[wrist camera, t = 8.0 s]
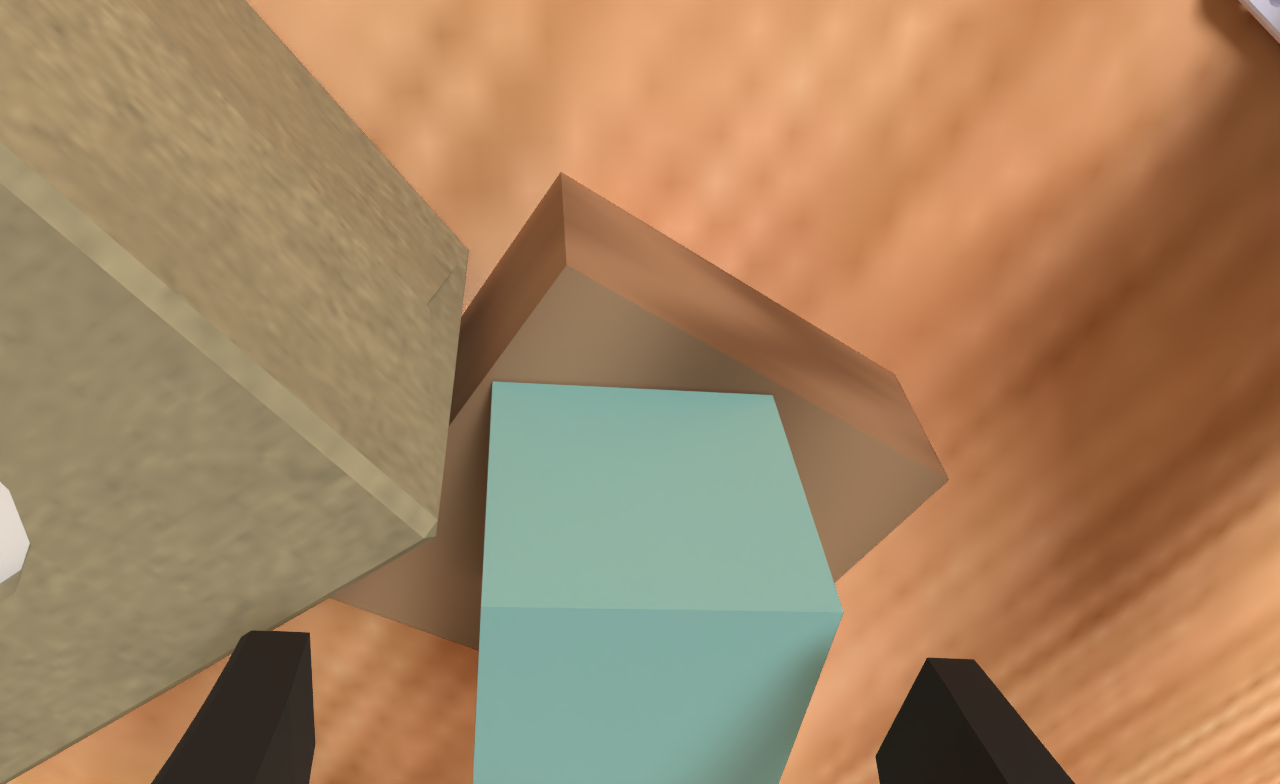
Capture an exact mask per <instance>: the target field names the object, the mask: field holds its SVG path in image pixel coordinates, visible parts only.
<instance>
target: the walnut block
mask: <svg viewBox="0 0 1280 784" xmlns="http://www.w3.org/2000/svg"><path fill="white" fill-rule="evenodd" d="M493 382H514V383H534V384H554V385H575V386H595V387H615V388H636V389H656V390H677V391H697V392H717V393H738V394H758V395H773V398H774V401H775V404H776V407H777V410H778V413H779V416H780V419H781V422H782V425H783V428H784V431H785V434H786V437H787V440H788V444H789V447H790V450H791V453H792V456H793V459H794V462H795V465H796V468H797V471H798V474H799V477H800V480H801V483H802V486H803V489H804V492H805V495H806V499H807V502H808V505H809V508H810V511H811V514H812V517H813V520H814V523H815V526H816V529H817V532H818V535H819V538H820V541H821V544H822V547H823V550H824V554H825V557H826V560H827V563H828V566H829V569H830V572H831V575H832V578H833V581H834V583H835V582H836V581H837V580H838V579H839V578H840V577H841V576H843V575H844V574H845V573H846V572H847V571H848V570H849V569H850V568H851V567H853V566H854V565H855V564H856V563H857V562H858V561H859V560H860V559H862V558H863V557H864V556H865V555H866V554H867V553H868V552H869V551H870V550H872V549H873V548H874V547H875V546H876V545H877V544H878V543H879V542H880V541H882V540H883V539H884V538H885V537H886V536H887V535H888V534H889V533H890V532H892V531H893V530H894V529H895V528H896V527H897V526H898V525H899V524H901V523H902V522H903V521H904V520H905V519H906V518H907V517H908V516H909V515H911V514H912V513H913V512H914V511H915V510H916V509H917V508H918V507H919V506H921V505H922V504H923V503H924V502H925V501H926V500H927V499H928V498H930V497H931V496H932V495H933V494H934V493H935V492H936V491H937V490H938V489H940V488H941V487H942V486H943V485H944V484H945V483H946V482H947V481H948V480H949V478H948V477H947V475H946V473H945V471H944V469H943V467H942V465H941V463H940V461H939V459H938V457H937V455H936V453H935V451H934V449H933V447H932V445H931V444H930V442H929V440H928V438H927V436H926V434H925V432H924V430H923V428H922V426H921V424H920V422H919V420H918V418H917V416H916V414H915V412H914V411H913V409H912V407H911V405H910V403H909V401H908V399H907V397H906V395H905V393H904V391H903V389H902V387H901V385H900V383H899V381H898V379H897V378H896V376H895V374H893V373H891V372H890V371H888V370H886V369H885V368H883V367H882V366H880V365H878V364H877V363H875V362H873V361H872V360H870V359H868V358H867V357H865V356H863V355H862V354H860V353H858V352H857V351H855V350H853V349H852V348H850V347H849V346H847V345H845V344H844V343H842V342H840V341H839V340H837V339H835V338H834V337H832V336H830V335H829V334H827V333H825V332H824V331H822V330H821V329H819V328H817V327H816V326H814V325H812V324H811V323H809V322H807V321H806V320H804V319H802V318H801V317H799V316H797V315H796V314H794V313H793V312H791V311H789V310H788V309H786V308H784V307H783V306H781V305H779V304H778V303H776V302H774V301H773V300H771V299H769V298H768V297H766V296H765V295H763V294H761V293H760V292H758V291H756V290H755V289H753V288H751V287H750V286H748V285H746V284H745V283H743V282H741V281H740V280H738V279H737V278H735V277H733V276H732V275H730V274H728V273H727V272H725V271H723V270H722V269H720V268H718V267H717V266H715V265H713V264H712V263H710V262H709V261H707V260H705V259H704V258H702V257H700V256H699V255H697V254H695V253H694V252H692V251H690V250H689V249H687V248H685V247H684V246H682V245H681V244H679V243H677V242H676V241H674V240H672V239H671V238H669V237H667V236H666V235H664V234H662V233H661V232H659V231H657V230H656V229H654V228H653V227H651V226H649V225H648V224H646V223H644V222H643V221H641V220H639V219H638V218H636V217H634V216H633V215H631V214H629V213H628V212H626V211H625V210H623V209H621V208H620V207H618V206H616V205H615V204H613V203H611V202H610V201H608V200H606V199H605V198H603V197H601V196H600V195H598V194H597V193H595V192H593V191H592V190H590V189H588V188H587V187H585V186H583V185H582V184H580V183H578V182H577V181H575V180H573V179H572V178H570V177H569V176H567V175H565V174H564V173H562V172H561V173H560V174H559V176H558V177H557V179H556V180H555V181H554V183H553V184H552V186H551V187H550V189H549V190H548V192H547V193H546V195H545V196H544V197H543V199H542V200H541V202H540V203H539V205H538V206H537V208H536V209H535V211H534V212H533V213H532V215H531V216H530V218H529V219H528V221H527V222H526V224H525V225H524V227H523V228H522V229H521V231H520V232H519V234H518V235H517V237H516V238H515V240H514V241H513V242H512V244H511V245H510V247H509V248H508V250H507V251H506V253H505V254H504V256H503V257H502V258H501V260H500V261H499V263H498V264H497V266H496V267H495V269H494V270H493V272H492V273H491V274H490V276H489V277H488V279H487V280H486V282H485V283H484V285H483V286H482V288H481V289H480V290H479V292H478V293H477V295H476V296H475V298H474V299H473V301H472V302H471V304H470V305H469V306H468V308H467V309H466V311H465V312H464V314H463V315H462V317H461V323H460V331H459V340H458V349H457V358H456V366H455V375H454V384H453V393H452V401H451V410H450V419H449V427H448V436H447V445H446V454H445V462H444V471H443V480H442V488H441V497H440V506H439V515H438V523H437V532H436V536H435V537H434V538H432V539H430V540H428V541H427V542H425V543H423V544H421V545H420V546H418V547H416V548H414V549H413V550H411V551H409V552H407V553H406V554H404V555H402V556H400V557H399V558H397V559H395V560H394V561H392V562H390V563H388V564H387V565H385V566H383V567H381V568H380V569H378V570H376V571H374V572H373V573H371V574H369V575H367V576H366V577H364V578H362V579H361V580H359V581H357V582H355V583H354V584H352V585H350V586H348V587H347V588H345V589H343V590H341V591H340V592H338V593H336V594H334V595H333V596H331V597H329V598H332V599H335V600H337V601H340V602H343V603H346V604H349V605H351V606H354V607H357V608H360V609H363V610H366V611H368V612H371V613H374V614H377V615H380V616H382V617H385V618H388V619H391V620H394V621H397V622H399V623H402V624H405V625H408V626H411V627H413V628H416V629H419V630H422V631H425V632H427V633H430V634H433V635H436V636H439V637H442V638H444V639H447V640H450V641H453V642H456V643H458V644H461V645H464V646H467V647H470V648H473V649H475V650H478V651H479V640H480V618H481V598H482V578H483V559H484V539H485V520H486V500H487V481H488V461H489V442H490V422H491V403H492V383H493Z"/></svg>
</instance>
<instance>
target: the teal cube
mask: <svg viewBox="0 0 1280 784" xmlns="http://www.w3.org/2000/svg"><path fill="white" fill-rule="evenodd" d="M843 613H844V612H843V609H842V605H841V602H840V599H839V596H838V593H837V590H836V587H835V584H834V581H833V578H832V575H831V572H830V569H829V566H828V563H827V560H826V557H825V554H824V550H823V547H822V544H821V541H820V538H819V535H818V532H817V529H816V526H815V523H814V520H813V517H812V514H811V511H810V508H809V505H808V502H807V499H806V495H805V492H804V489H803V486H802V483H801V480H800V477H799V474H798V471H797V468H796V465H795V462H794V459H793V456H792V453H791V450H790V447H789V444H788V440H787V437H786V434H785V431H784V428H783V425H782V422H781V419H780V416H779V413H778V410H777V407H776V404H775V401H774V398H773V395H758V394H738V393H717V392H697V391H677V390H656V389H636V388H615V387H595V386H575V385H554V384H534V383H514V382H493V383H492V403H491V422H490V442H489V461H488V481H487V500H486V520H485V539H484V559H483V578H482V598H481V618H480V640H479V662H478V683H477V705H476V727H475V748H474V770H473V784H779V781H780V779H781V776H782V773H783V771H784V768H785V765H786V763H787V760H788V758H789V755H790V752H791V750H792V747H793V744H794V742H795V739H796V737H797V734H798V731H799V729H800V726H801V723H802V721H803V718H804V715H805V713H806V710H807V708H808V705H809V702H810V700H811V697H812V694H813V692H814V689H815V686H816V684H817V681H818V679H819V676H820V673H821V671H822V668H823V665H824V663H825V660H826V658H827V655H828V652H829V650H830V647H831V644H832V642H833V639H834V636H835V634H836V631H837V629H838V626H839V623H840V621H841V618H842V615H843Z"/></svg>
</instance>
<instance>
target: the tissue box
mask: <svg viewBox="0 0 1280 784" xmlns="http://www.w3.org/2000/svg"><path fill="white" fill-rule="evenodd" d="M468 253H469V250H468V249H467V248H466V247H465V246H464V244H463V243H462V242H461V241H460V240H459V239H458V238H457V237H456V236H455V234H454V233H453V232H452V231H451V230H450V229H449V228H448V227H447V225H446V224H445V223H444V222H443V221H442V220H441V219H440V218H439V216H438V215H437V214H436V213H435V212H434V211H433V210H432V209H431V208H430V206H429V205H428V204H427V203H426V202H425V201H424V200H423V199H422V197H421V196H420V195H419V194H418V193H417V192H416V191H415V190H414V189H413V187H412V186H411V185H410V184H409V183H408V182H407V181H406V180H405V178H404V177H403V176H402V175H401V174H400V173H399V172H398V171H397V170H396V168H395V167H394V166H393V165H392V164H391V163H390V162H389V161H388V159H387V158H386V157H385V156H384V155H383V154H382V153H381V152H380V150H379V149H378V148H377V147H376V146H375V145H374V144H373V143H372V142H371V140H370V139H369V138H368V137H367V136H366V135H365V134H364V133H363V131H362V130H361V129H360V128H359V127H358V126H357V125H356V124H355V123H354V121H353V120H352V119H351V118H350V117H349V116H348V115H347V114H346V112H345V111H344V110H343V109H342V108H341V107H340V106H339V105H338V104H337V102H336V101H335V100H334V99H333V98H332V97H331V96H330V95H329V93H328V92H327V91H326V90H325V89H324V88H323V87H322V86H321V84H320V83H319V82H318V81H317V80H316V79H315V78H314V77H313V76H312V74H311V73H310V72H309V71H308V70H307V69H306V68H305V67H304V65H303V64H302V63H301V62H300V61H299V60H298V59H297V58H296V57H295V55H294V54H293V53H292V52H291V51H290V50H289V49H288V48H287V46H286V45H285V44H284V43H283V42H282V41H281V40H280V39H279V38H278V36H277V35H276V34H275V33H274V32H273V31H272V30H271V29H270V27H269V26H268V25H267V24H266V23H265V22H264V21H263V20H262V18H261V17H260V16H259V15H258V14H257V13H256V12H255V11H254V10H253V8H252V7H251V6H250V5H249V4H248V3H247V2H246V1H245V0H0V784H6V783H8V782H9V781H11V780H13V779H15V778H16V777H18V776H20V775H22V774H23V773H25V772H27V771H28V770H30V769H32V768H34V767H35V766H37V765H39V764H41V763H42V762H44V761H46V760H48V759H49V758H51V757H53V756H55V755H56V754H58V753H60V752H61V751H63V750H65V749H67V748H68V747H70V746H72V745H74V744H75V743H77V742H79V741H81V740H82V739H84V738H86V737H88V736H89V735H91V734H93V733H95V732H96V731H98V730H100V729H101V728H103V727H105V726H107V725H108V724H110V723H112V722H114V721H115V720H117V719H119V718H121V717H122V716H124V715H126V714H128V713H129V712H131V711H133V710H135V709H136V708H138V707H140V706H141V705H143V704H145V703H147V702H148V701H150V700H152V699H154V698H155V697H157V696H159V695H161V694H162V693H164V692H166V691H168V690H169V689H171V688H173V687H174V686H176V685H178V684H180V683H181V682H183V681H185V680H187V679H188V678H190V677H192V676H194V675H195V674H197V673H199V672H201V671H202V670H204V669H206V668H208V667H209V666H211V665H213V664H214V663H216V662H218V661H220V660H221V659H223V658H225V657H227V656H228V655H230V654H232V653H233V651H234V649H235V647H236V646H237V644H238V642H239V640H240V638H241V637H242V636H243V635H245V634H246V633H248V632H250V631H251V630H256V631H272V630H274V629H275V628H277V627H279V626H281V625H282V624H284V623H286V622H287V621H289V620H291V619H293V618H294V617H296V616H298V615H300V614H301V613H303V612H305V611H307V610H308V609H310V608H312V607H314V606H315V605H317V604H319V603H321V602H322V601H324V600H326V599H327V598H329V597H331V596H333V595H334V594H336V593H338V592H340V591H341V590H343V589H345V588H347V587H348V586H350V585H352V584H354V583H355V582H357V581H359V580H361V579H362V578H364V577H366V576H367V575H369V574H371V573H373V572H374V571H376V570H378V569H380V568H381V567H383V566H385V565H387V564H388V563H390V562H392V561H394V560H395V559H397V558H399V557H400V556H402V555H404V554H406V553H407V552H409V551H411V550H413V549H414V548H416V547H418V546H420V545H421V544H423V543H425V542H427V541H428V540H430V539H432V538H434V537H435V536H436V532H437V523H438V515H439V506H440V497H441V488H442V480H443V471H444V462H445V454H446V445H447V436H448V427H449V419H450V410H451V401H452V393H453V384H454V375H455V366H456V358H457V349H458V340H459V331H460V323H461V314H462V305H463V297H464V288H465V279H466V270H467V262H468Z"/></svg>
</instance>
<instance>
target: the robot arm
mask: <svg viewBox="0 0 1280 784" xmlns="http://www.w3.org/2000/svg"><path fill="white" fill-rule="evenodd" d="M1238 1H1239V2H1240V3H1241V4H1242V5H1243V6H1244V7H1245V8H1246V9H1247V10H1248V11H1249V12H1250V13H1251V14H1252V15H1253V16H1254V17H1255V18H1256V20H1257V21H1258V22H1259V23H1260V24H1261V25H1262V26H1263V27H1264V28H1265V29H1266V30H1267V31H1268V32H1269V33H1270V34H1271V35H1272V36H1273V37H1274V39H1275V40H1276V41H1277V42H1278V43H1279V44H1280V0H1238ZM314 748H315V728H314V709H313V689H312V669H311V650H310V633H305V632H281V631H256V630H251V631H250V632H248V633H246V634H245V635H243V636H242V637H241V638H240V640H239V642H238V644H237V646H236V647H235V649H234V651H233V653H232V655H231V657H230V659H229V661H228V663H227V664H226V666H225V668H224V670H223V671H222V673H221V675H220V677H219V678H218V680H217V682H216V684H215V685H214V687H213V689H212V690H211V692H210V694H209V695H208V697H207V699H206V700H205V702H204V704H203V705H202V707H201V709H200V710H199V712H198V713H197V715H196V717H195V718H194V720H193V721H192V723H191V724H190V726H189V728H188V729H187V731H186V732H185V734H184V735H183V737H182V739H181V740H180V742H179V743H178V745H177V746H176V748H175V750H174V751H173V753H172V754H171V756H170V757H169V758H168V760H167V761H166V763H165V764H164V766H163V767H162V769H161V770H160V771H159V773H158V774H157V776H156V777H155V779H154V780H153V782H152V783H151V784H309V779H310V773H311V767H312V761H313V755H314ZM876 762H877V768H878V774H879V780H880V784H1075V783H1074V782H1073V781H1072V780H1071V778H1070V777H1069V776H1068V775H1067V774H1066V772H1065V771H1064V770H1063V769H1062V767H1061V766H1060V765H1059V764H1058V762H1057V761H1056V760H1055V759H1054V758H1053V756H1052V755H1051V754H1050V753H1049V751H1048V750H1047V749H1046V748H1045V746H1044V745H1043V744H1042V743H1041V742H1040V740H1039V739H1038V738H1037V737H1036V735H1035V734H1034V733H1033V732H1032V730H1031V729H1030V728H1029V727H1028V725H1027V724H1026V723H1025V722H1024V720H1023V719H1022V718H1021V717H1020V715H1019V714H1018V713H1017V712H1016V711H1015V709H1014V708H1013V707H1012V706H1011V704H1010V703H1009V702H1008V701H1007V699H1006V698H1005V697H1004V696H1003V694H1002V693H1001V692H1000V691H999V689H998V688H997V687H996V686H995V684H994V683H993V682H992V681H991V680H990V678H989V677H988V676H987V675H986V673H985V672H984V671H983V670H982V669H981V667H980V666H979V665H978V664H977V663H976V661H975V660H971V659H947V658H927V659H926V661H925V663H924V665H923V667H922V669H921V671H920V672H919V674H918V676H917V678H916V680H915V682H914V684H913V686H912V688H911V690H910V692H909V693H908V695H907V697H906V699H905V701H904V703H903V705H902V707H901V709H900V711H899V713H898V714H897V716H896V718H895V720H894V722H893V724H892V726H891V728H890V730H889V732H888V733H887V735H886V737H885V739H884V741H883V743H882V745H881V747H880V749H879V751H878V753H877V754H876Z"/></svg>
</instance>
